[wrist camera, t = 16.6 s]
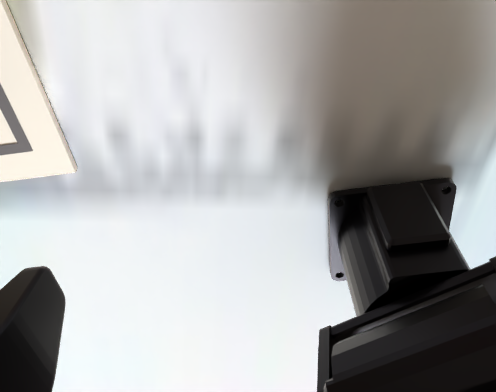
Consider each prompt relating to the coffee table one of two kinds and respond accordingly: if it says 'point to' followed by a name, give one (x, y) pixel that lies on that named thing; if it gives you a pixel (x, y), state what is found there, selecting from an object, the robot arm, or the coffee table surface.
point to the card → (26, 114)
